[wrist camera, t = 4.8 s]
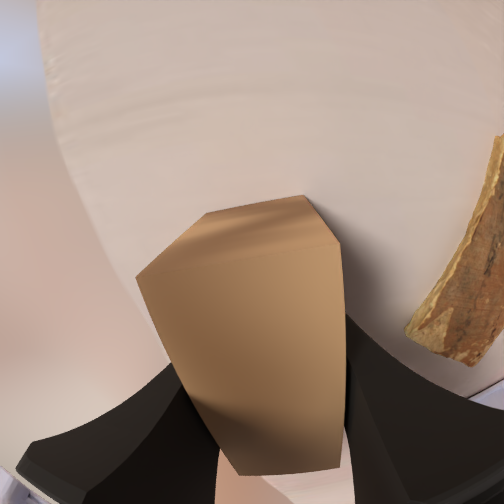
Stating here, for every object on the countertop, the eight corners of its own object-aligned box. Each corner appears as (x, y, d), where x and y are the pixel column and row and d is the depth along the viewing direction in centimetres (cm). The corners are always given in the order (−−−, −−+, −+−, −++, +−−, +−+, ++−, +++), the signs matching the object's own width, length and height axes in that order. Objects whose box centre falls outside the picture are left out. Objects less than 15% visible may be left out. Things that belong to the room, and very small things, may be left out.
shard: (490, 126, 8) (514, 126, 6) (546, 208, 8) (565, 215, 6) (392, 322, 11) (406, 345, 10) (467, 355, 12) (480, 372, 10)
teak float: (303, 194, 9) (339, 243, 4) (323, 367, 12) (339, 467, 7) (206, 213, 10) (135, 277, 5) (251, 376, 12) (239, 475, 7)
